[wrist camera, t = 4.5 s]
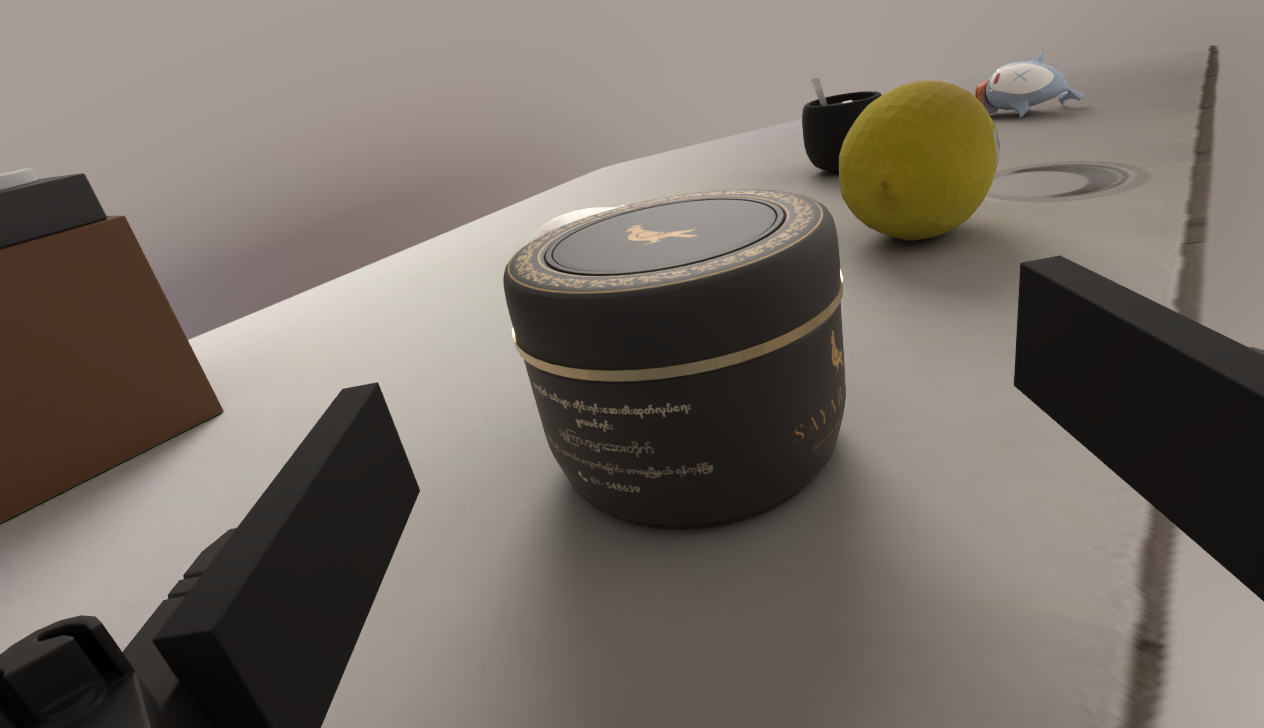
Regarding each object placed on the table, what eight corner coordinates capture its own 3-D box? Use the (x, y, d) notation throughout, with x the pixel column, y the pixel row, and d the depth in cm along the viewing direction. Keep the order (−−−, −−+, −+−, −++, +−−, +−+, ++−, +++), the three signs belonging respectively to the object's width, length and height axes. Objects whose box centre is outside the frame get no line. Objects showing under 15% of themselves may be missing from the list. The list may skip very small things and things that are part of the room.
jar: (815, 576, 18) (788, 293, 14) (497, 521, 22) (422, 298, 19) (874, 383, 25) (865, 173, 22) (630, 373, 30) (593, 197, 27)
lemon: (956, 270, 33) (958, 94, 30) (809, 259, 38) (797, 109, 35) (1026, 205, 40) (1035, 55, 37) (893, 203, 45) (890, 71, 42)
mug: (857, 180, 52) (852, 75, 49) (788, 179, 57) (780, 82, 53) (937, 142, 58) (937, 46, 55) (870, 143, 63) (866, 55, 60)
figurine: (1086, 98, 61) (1074, 101, 58) (991, 127, 67) (975, 132, 64) (1075, 40, 60) (1063, 40, 57) (980, 75, 66) (964, 77, 63)
